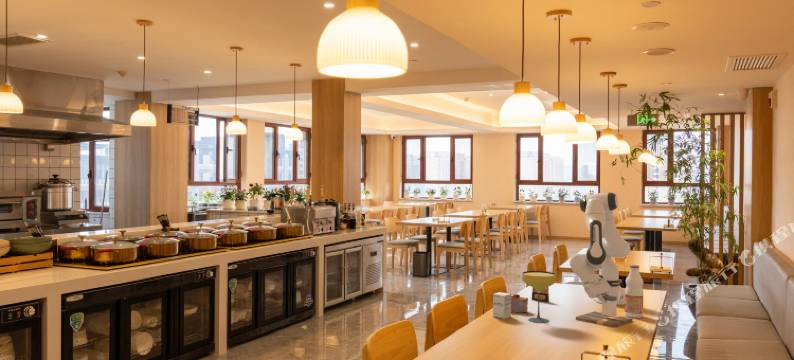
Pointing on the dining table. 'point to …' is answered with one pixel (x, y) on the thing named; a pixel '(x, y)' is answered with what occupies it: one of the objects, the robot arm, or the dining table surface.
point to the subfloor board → (604, 319)
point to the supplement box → (501, 305)
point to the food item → (519, 304)
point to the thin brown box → (541, 295)
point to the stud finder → (609, 305)
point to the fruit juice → (634, 293)
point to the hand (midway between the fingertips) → (607, 301)
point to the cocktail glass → (539, 286)
